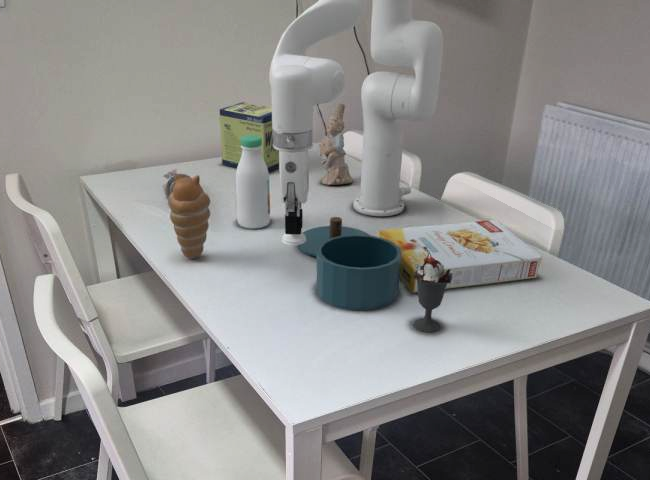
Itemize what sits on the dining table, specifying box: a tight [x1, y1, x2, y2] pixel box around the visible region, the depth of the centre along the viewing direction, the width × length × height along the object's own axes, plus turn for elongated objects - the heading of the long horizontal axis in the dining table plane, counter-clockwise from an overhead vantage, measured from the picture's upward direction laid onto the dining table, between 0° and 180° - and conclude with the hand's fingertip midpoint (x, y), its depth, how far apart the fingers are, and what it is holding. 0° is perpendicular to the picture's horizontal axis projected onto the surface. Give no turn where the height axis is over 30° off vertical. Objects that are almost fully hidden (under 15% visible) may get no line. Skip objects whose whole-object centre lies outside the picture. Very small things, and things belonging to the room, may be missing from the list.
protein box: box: [219, 101, 279, 173], centre depth 202 cm, size 10×16×16 cm
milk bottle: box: [235, 135, 271, 229], centre depth 164 cm, size 8×8×20 cm
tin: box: [315, 234, 402, 311], centre depth 138 cm, size 16×16×8 cm
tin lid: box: [296, 216, 370, 258], centre depth 157 cm, size 17×17×6 cm
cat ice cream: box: [167, 172, 211, 260], centre depth 148 cm, size 9×8×18 cm
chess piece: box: [281, 204, 306, 246], centre depth 142 cm, size 5×5×10 cm
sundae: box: [412, 247, 452, 333], centre depth 125 cm, size 7×7×15 cm
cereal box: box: [378, 219, 542, 294], centre depth 149 cm, size 20×6×28 cm
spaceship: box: [162, 168, 192, 200], centre depth 176 cm, size 8×35×8 cm
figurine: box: [318, 102, 354, 186], centre depth 189 cm, size 9×8×20 cm
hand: (293, 230), depth 143 cm, fingers closed on chess piece
